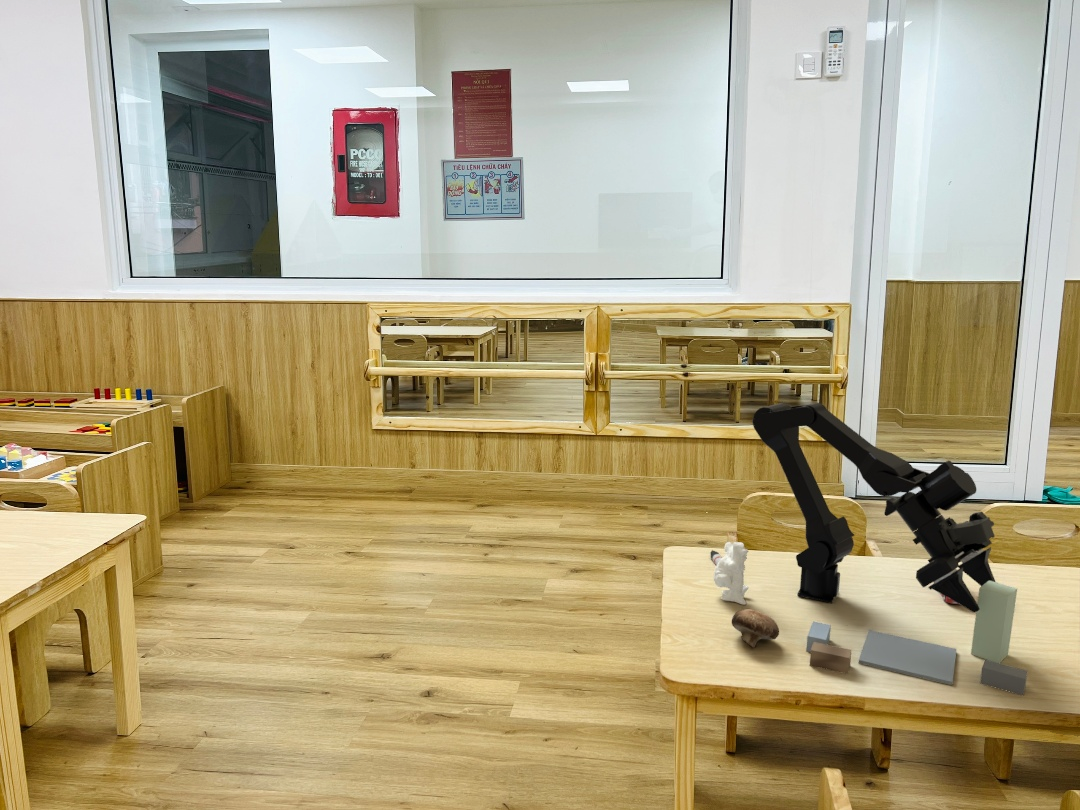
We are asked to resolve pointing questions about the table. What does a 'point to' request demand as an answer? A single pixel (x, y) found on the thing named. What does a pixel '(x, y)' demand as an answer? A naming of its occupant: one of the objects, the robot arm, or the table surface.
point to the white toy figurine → (732, 572)
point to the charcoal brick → (1003, 677)
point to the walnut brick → (830, 657)
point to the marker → (715, 557)
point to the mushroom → (754, 626)
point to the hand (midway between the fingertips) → (987, 602)
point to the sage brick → (993, 621)
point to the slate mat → (909, 657)
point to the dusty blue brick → (818, 634)
